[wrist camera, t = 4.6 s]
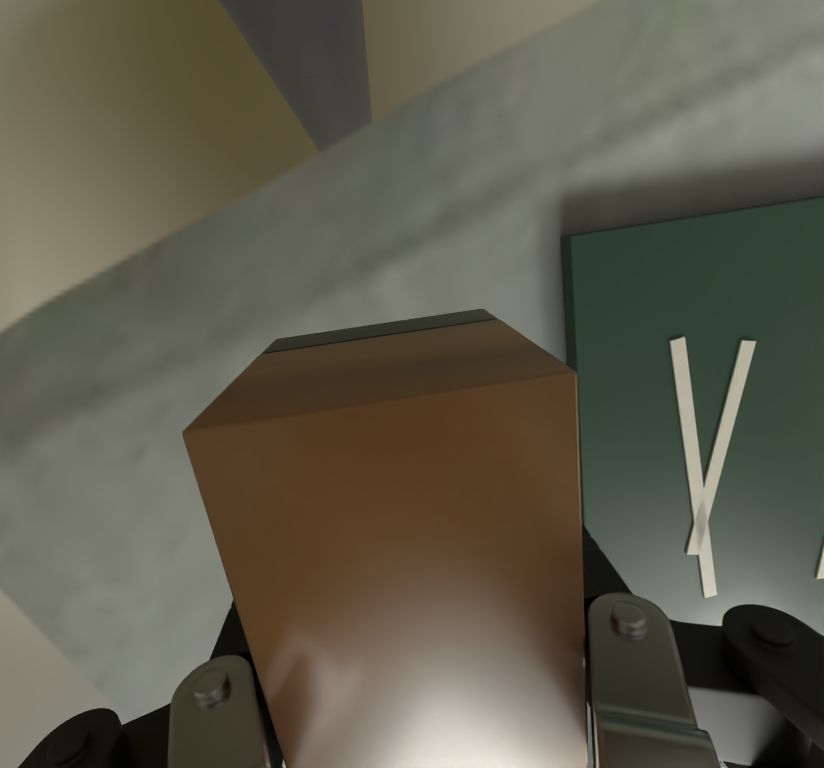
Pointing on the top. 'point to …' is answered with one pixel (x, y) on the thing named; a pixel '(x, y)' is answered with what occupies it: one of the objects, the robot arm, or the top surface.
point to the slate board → (704, 406)
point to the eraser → (406, 543)
